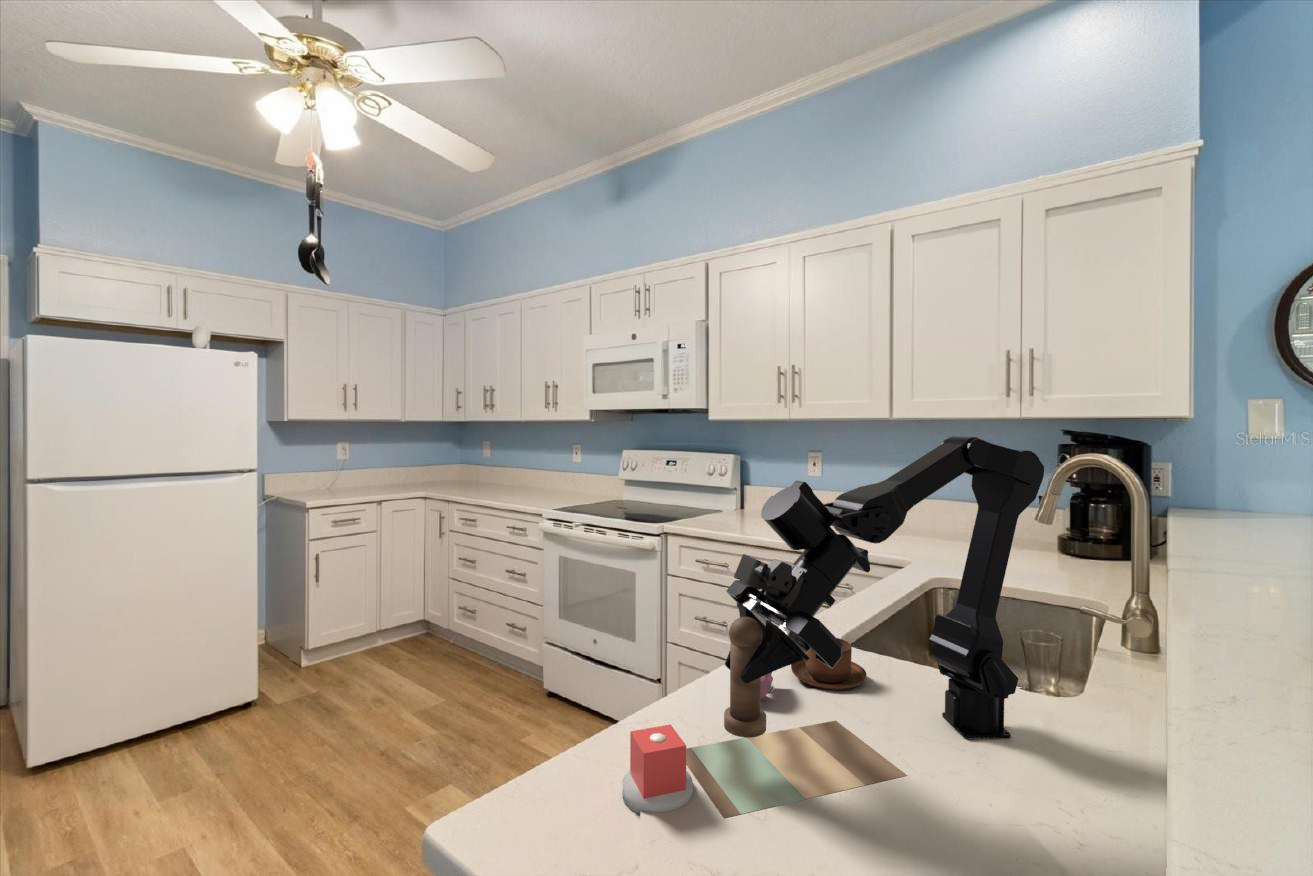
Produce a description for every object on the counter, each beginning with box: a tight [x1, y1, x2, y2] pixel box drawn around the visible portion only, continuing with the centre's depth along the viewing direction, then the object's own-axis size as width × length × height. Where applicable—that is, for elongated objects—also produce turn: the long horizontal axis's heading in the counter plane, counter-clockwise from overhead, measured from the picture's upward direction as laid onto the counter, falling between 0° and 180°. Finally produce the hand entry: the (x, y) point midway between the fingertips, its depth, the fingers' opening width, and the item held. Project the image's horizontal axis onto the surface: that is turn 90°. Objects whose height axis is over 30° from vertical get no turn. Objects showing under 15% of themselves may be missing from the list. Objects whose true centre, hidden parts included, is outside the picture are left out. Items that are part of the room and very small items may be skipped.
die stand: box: [622, 724, 694, 815], centre depth 69 cm, size 8×8×7 cm
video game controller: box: [760, 672, 775, 701], centre depth 94 cm, size 10×5×7 cm, turn 169°
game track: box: [686, 720, 908, 819], centre depth 75 cm, size 24×14×1 cm, turn 109°
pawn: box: [723, 616, 767, 738], centre depth 72 cm, size 5×5×13 cm
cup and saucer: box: [790, 637, 867, 691], centre depth 100 cm, size 12×12×6 cm
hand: (734, 674), depth 72 cm, fingers closed on pawn, 4 cm apart
